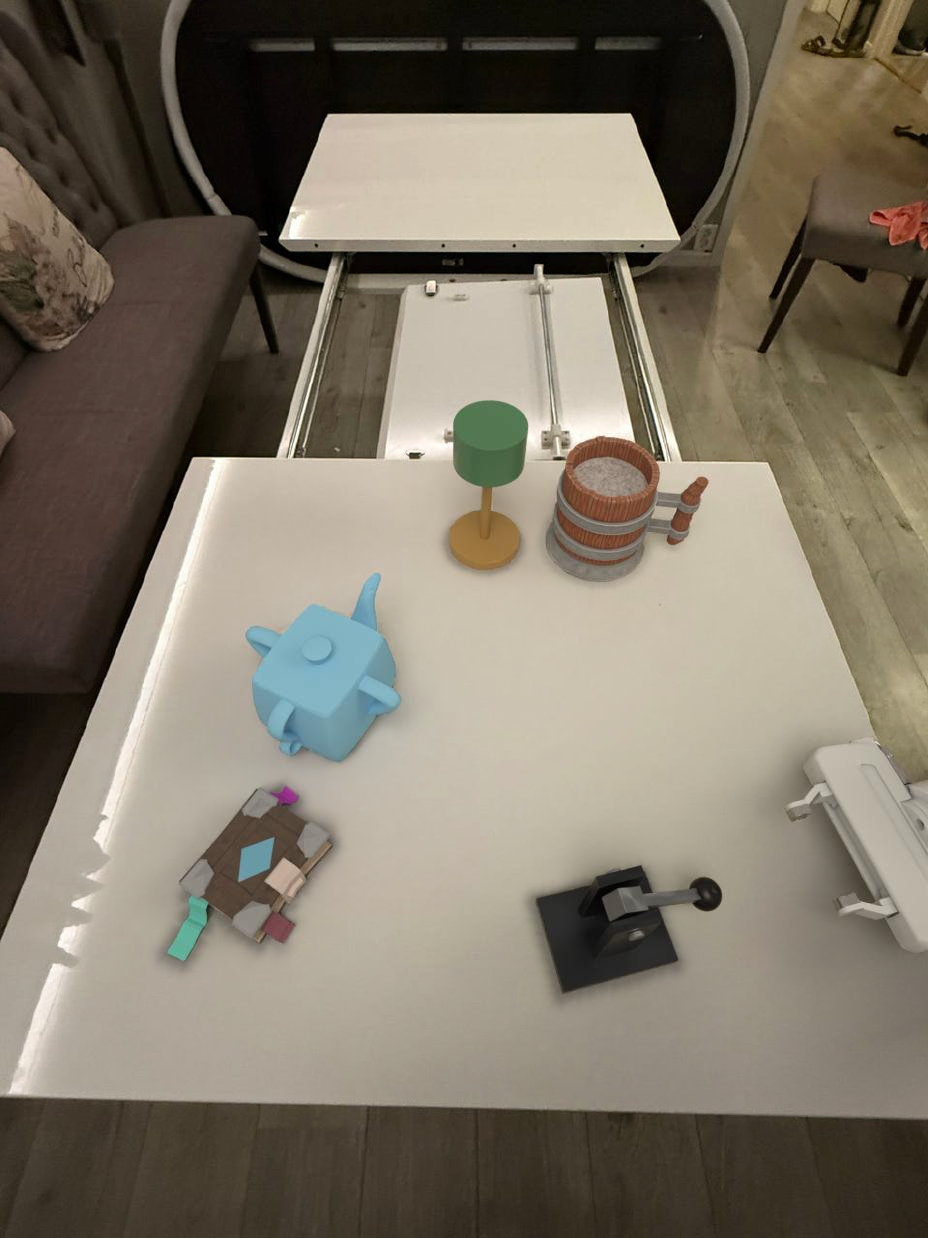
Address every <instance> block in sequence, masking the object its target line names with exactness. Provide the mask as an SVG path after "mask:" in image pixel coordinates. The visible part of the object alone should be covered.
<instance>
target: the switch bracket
mask: <svg viewBox="0 0 928 1238" xmlns="http://www.w3.org/2000/svg"><path fill="white" fill-rule="evenodd" d="M634 886H640V888H641V891H642V894H647V893H654V892H653V889H652V887H651V884H650V881H649V879H648V876H647V874H646V871H645V870H644V869H643V865H642V864H639V865H636V866H631V867H627V868H624V869H621V868H619V867H618V868H612V869H610V870H608V871H607V872H606V873H604V874H600V875H596V876H595V877H594V879H593V880H592V882H591V884H588V885H584V886H580V887H576V888H573V889H568V890H565V891H561V892H557V893H553V894H549V895H545V896H541V897H537V898H536V900H535V905H536V909H537V912H538V916H539V919H540V922H541V925H542V929H543V933H544V935H545V938H546V939H545V940H546V942H547V946H548V950H549V952H550V956H551V960H552V963H553V967H554V970H555V974H556V977H557V981H558V984H559V988H560V990H561V994H563V995H565V994H568V993H572V992H576V991H579V990H582V989H586V988H589V987H593V986H597V985H601V984H604V983H608V982H611V981H615V980H619V979H622V978H626V977H629V976H632V975H633V976H634V975H636V974H640V973H643V972H647V971H651V970H654V969H657V968H662V967H665V966H668V965H672V964H675V963H677V962H678V961H679V957H678V955H677V951H676V949H675V947H674V944H673V942H672V939H671V936H670V934H669V931H668V929H667V926H666V923H665V920H664V918H663V916H662V913H661V911H660V907H656V908H648V911H646V912H644V913H642V914H640V915H637V916H633V917H630V918H626V919H622V920H618V921H614V922H610V921H609V918H608V915H607V912H606V909H605V906H604V903H603V901H602V897H603V896H605V895H607V894H608V893H610V892H612V891H614V890H615V889H617V888H624V887H634Z"/></svg>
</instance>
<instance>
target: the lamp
mask: <svg viewBox="0 0 928 1238" xmlns="http://www.w3.org/2000/svg"><path fill="white" fill-rule="evenodd" d="M528 435H529V421H528V419H527V417H526V415H525V414H524V413H523V411H521V409H519V408H518V407H516V406H515V405H513V404H511V403H508V402H505V401H501V400H494V399H493V400H492V399H487V400H486V399H485V400H479V401H474V402H471V403H469V404H467V405H465V406H463V407H462V408H460V409H459V411H458V412H457V413H456V414H455V416H454V418H453V422H452V465H453V468H454V471H455V473H456V474H457V475H458V476H459V477H460V478H461V479H462V480H463V481H465V482H466V483H469V484H470V485H473V486H477V487H481V497H480V498H481V501H480V502H481V503H480V510H473V511H470V512H466V513H464V514H463V515H461V516H460V517H458V518H457V519H456V520H455V521H454V522H453V524H452V525H451V528H450V530H449V534H448V535H449V549H450V551H451V553H452V555H453V556H454V558H455V559H456V560H457V561H458V562H459V563H461V564H462V565H464V566H465V567H467V568H471V569H474V570H479V571H491V570H497V569H501V568H503V567H505V566H506V565H508V564H509V563H511V562H512V561H513V560H514V559H515V557H517V554H518V552H519V549H520V543H521V534H520V531H519V530H520V529H519V527H518V526H517V525H516V522H514V521H513V520H512V519H511V518H510V517H508V516H507V515H505V514H503V513H501V512H499V511H494V510H492V505H493V504H492V503H493V491H494V489H493V488H499V487H502V486H503V487H504V486H506V485H509V484H511V483H512V482H514V481H516V480H517V479H518V478H519V477H520V476H521V475H522V473H523V471H524V469H525V462H526V453H527V444H528Z"/></svg>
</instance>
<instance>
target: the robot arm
mask: <svg viewBox="0 0 928 1238" xmlns="http://www.w3.org/2000/svg"><path fill="white" fill-rule="evenodd" d="M802 768H803V771H804V773H805V775H806V777H807V779H808V780H809V782H810V784H811V786H812V787H811V788H810V789H808V791H807V792H806V793H805V794H804V796H802V798H801V799H799V800H795V801H792V802H790V803H788V804H786V805H785V806H784V807H783V810H784V811H785V813H786V815H787V817H788V819H789V821H790V822H791V823H793V822H796V821H797V820H798V821H801V820H804V819H806V818H808V816H810V815H811V814H812V813H813V812H812V809H811V807H810V806H809V805H810V804H811V802H812V804H814V805H817V804H822V806H823V808H824V810H825V812H826V813H827V815H828V817H829V819H830V820H831V822H832V824H833V826H834V828H835V830H836V833H838V835H839V837H840V839H841V840H842V842H843V844H844V846H845V848H846V850H847V852H848V854H849V855H850V857H851V859H852V861H853V863H854V864H855V867H856V868H857V870H858V872H859V873H860V876H861V878H862V879H863V881H864V883H865V884H866V887H867V888H868V890H869V891H870V893H871V895H872V898H873V899H874V902H872V903H870V902H867V901H862V900H860V899H859V898H858V896H857V893H856V892H852V893H847V894H846V895H842V896H838V897H836V898H834V899H832V900H831V901H832V904H833V907H834V909H835V910H836V912H837V914H838V916H839V917H844V916H848V915H851V914H855V915H858V916H862V917H865V918H868V919H871V920H875V921H878V920H882V919H885V921H886V923H887V925H888V926H889V928H890V930H891V932H892V934H893V935H894V937H895V940H896V941H897V943H898V945H899V946H900V948H902V949H903V950H905V951H908V952H910V953H913V954H919V953H922V952H925V951H928V779H924V780H919V781H916V782H911V780H910V779H909V778H908V775H907V774H906V773H905V771H904V770H903V768H902V767H901V766H900V765H899V763H898V762H897V760H896V758H895V757H894V754H893V752H892V751H891V749H890V748H889V747H888V746H887V745H883V744H882V743H881V742H879V741H878V740H877V739H875V738H873V737H870V736H865V737H860V738H855V739H852V740H850V741H848V743H847V742H846V743H838V744H831V745H825V746H820V747H818V748H816V749H815V750H813V751H812V752H811V753H810V754H809V755H808V756H807V758H806V760H805V761H804V764H803V767H802Z"/></svg>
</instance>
